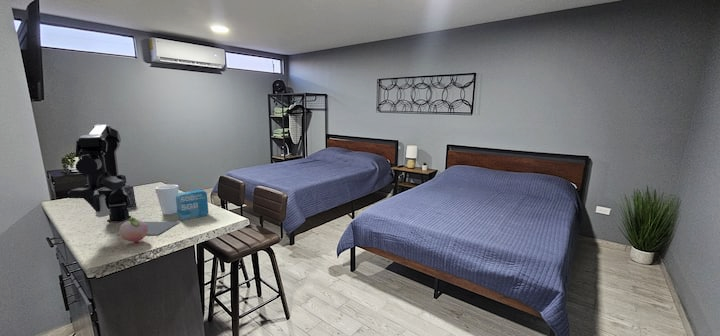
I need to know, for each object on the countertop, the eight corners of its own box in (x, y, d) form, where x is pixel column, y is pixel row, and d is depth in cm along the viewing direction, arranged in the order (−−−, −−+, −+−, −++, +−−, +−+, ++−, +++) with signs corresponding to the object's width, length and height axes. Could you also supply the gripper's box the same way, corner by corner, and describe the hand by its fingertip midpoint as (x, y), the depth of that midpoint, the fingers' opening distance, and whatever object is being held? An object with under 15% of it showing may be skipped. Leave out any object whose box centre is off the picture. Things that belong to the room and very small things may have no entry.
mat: (118, 235, 119) (118, 234, 119) (143, 222, 133) (143, 221, 133) (158, 235, 119) (158, 234, 119) (179, 222, 133) (179, 221, 133)
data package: (180, 221, 135) (177, 195, 133) (178, 218, 138) (175, 193, 136) (208, 215, 143) (206, 190, 141) (205, 212, 147) (203, 188, 144)
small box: (132, 203, 161) (129, 184, 159) (136, 205, 157) (134, 186, 156) (107, 208, 153) (104, 188, 151) (111, 210, 149) (108, 190, 147)
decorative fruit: (116, 244, 111) (112, 218, 110) (141, 236, 118) (138, 212, 117) (127, 250, 107) (124, 223, 105) (153, 241, 113) (150, 216, 112)
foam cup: (183, 208, 153) (180, 183, 150) (178, 214, 144) (175, 188, 142) (161, 210, 150) (158, 185, 147) (155, 216, 141) (152, 189, 139)
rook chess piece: (101, 213, 117) (98, 193, 115) (113, 213, 117) (110, 193, 116) (92, 217, 112) (89, 196, 111) (105, 217, 113) (101, 196, 111)
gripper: (95, 175, 102) (102, 218, 105) (136, 165, 121) (141, 202, 123) (63, 174, 102) (71, 218, 105) (108, 165, 121) (114, 202, 124)
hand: (102, 210), depth 114 cm, fingers closed on rook chess piece, 3 cm apart
